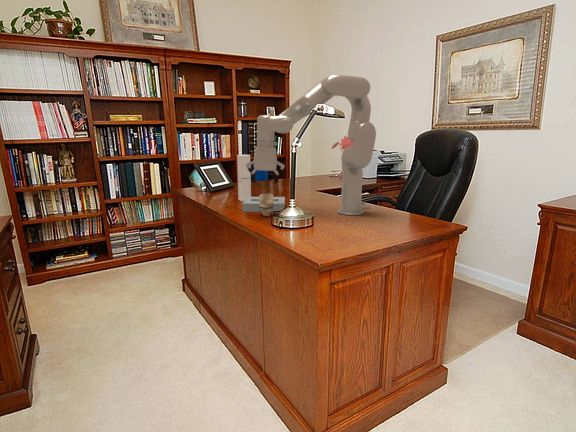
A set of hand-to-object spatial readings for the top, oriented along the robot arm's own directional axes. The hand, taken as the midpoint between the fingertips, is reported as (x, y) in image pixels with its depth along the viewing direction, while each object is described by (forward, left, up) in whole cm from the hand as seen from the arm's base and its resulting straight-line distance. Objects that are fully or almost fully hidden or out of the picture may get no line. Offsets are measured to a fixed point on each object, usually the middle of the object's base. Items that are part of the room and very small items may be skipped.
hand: (265, 183), depth 158 cm
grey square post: (+14, -38, -15) cm, 44 cm away
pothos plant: (-56, -122, -15) cm, 135 cm away
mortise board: (+1, -17, -15) cm, 23 cm away
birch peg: (-1, 0, -15) cm, 15 cm away
